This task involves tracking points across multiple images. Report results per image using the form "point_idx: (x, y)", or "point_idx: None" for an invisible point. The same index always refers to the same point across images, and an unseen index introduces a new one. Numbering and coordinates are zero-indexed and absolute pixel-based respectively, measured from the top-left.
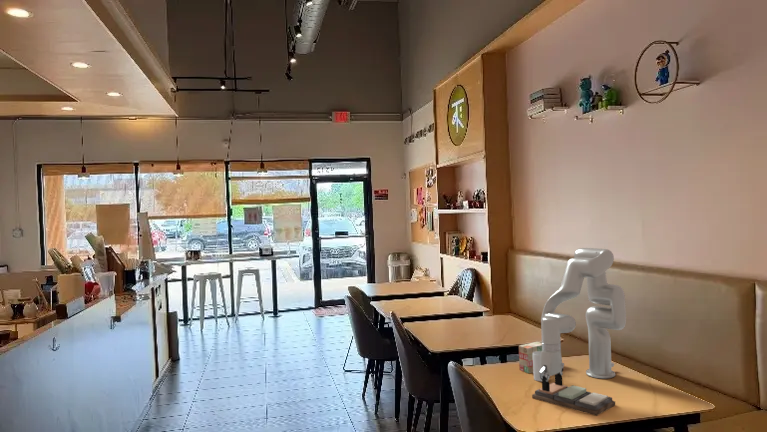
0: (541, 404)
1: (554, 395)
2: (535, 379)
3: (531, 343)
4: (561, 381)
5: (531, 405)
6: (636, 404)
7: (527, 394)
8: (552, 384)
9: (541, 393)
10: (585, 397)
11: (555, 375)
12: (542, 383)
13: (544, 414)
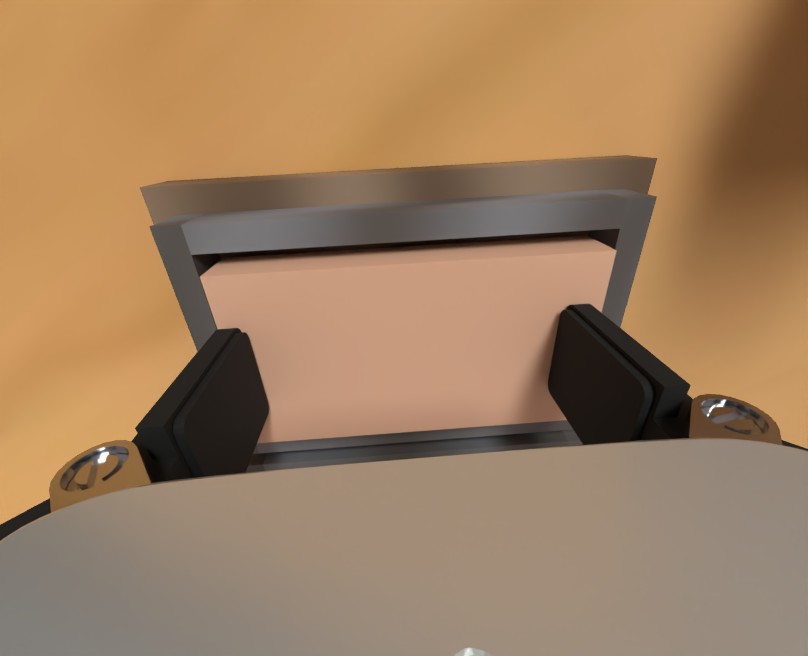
0: (138, 358)
1: (267, 449)
2: None
3: None
4: (578, 425)
5: (16, 313)
6: None
7: (205, 18)
8: (526, 290)
9: (195, 324)
10: None
11: (643, 400)
12: (176, 392)
13: (21, 480)
